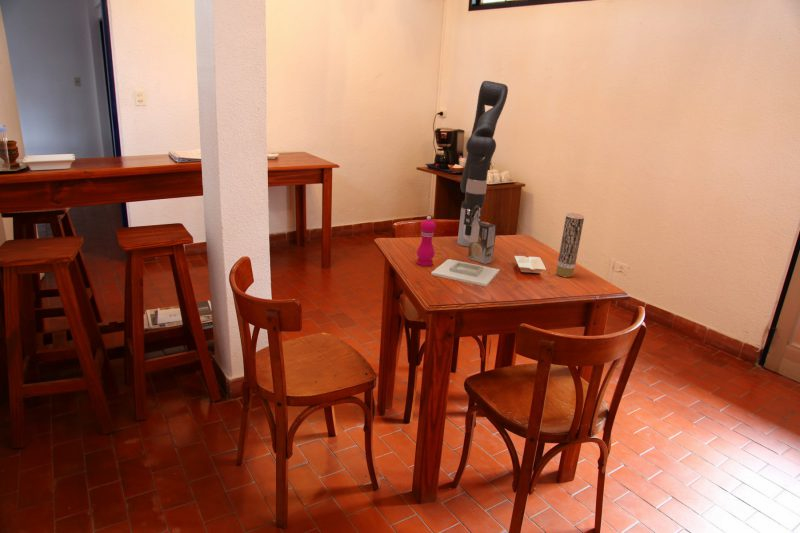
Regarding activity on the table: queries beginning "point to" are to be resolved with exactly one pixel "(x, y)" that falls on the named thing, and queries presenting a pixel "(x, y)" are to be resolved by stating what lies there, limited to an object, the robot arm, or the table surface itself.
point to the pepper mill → (426, 243)
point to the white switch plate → (466, 272)
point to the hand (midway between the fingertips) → (470, 232)
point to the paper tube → (570, 244)
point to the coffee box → (483, 244)
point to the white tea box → (472, 232)
